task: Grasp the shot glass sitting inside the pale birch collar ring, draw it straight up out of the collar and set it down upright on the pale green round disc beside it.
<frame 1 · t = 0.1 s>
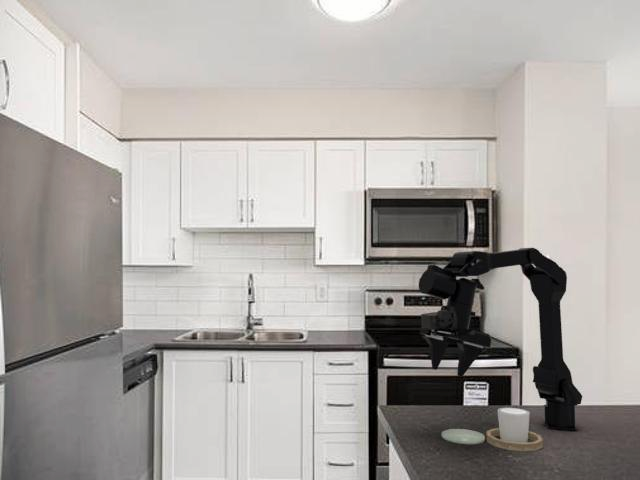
hand: (446, 372, 116), 15 cm above the countertop, tool pointing down, fingers open, 9 cm apart
shot glass: (514, 443, 116), resting in collar
pale green round disc: (463, 437, 119), on the countertop
collar: (514, 442, 116), on the countertop
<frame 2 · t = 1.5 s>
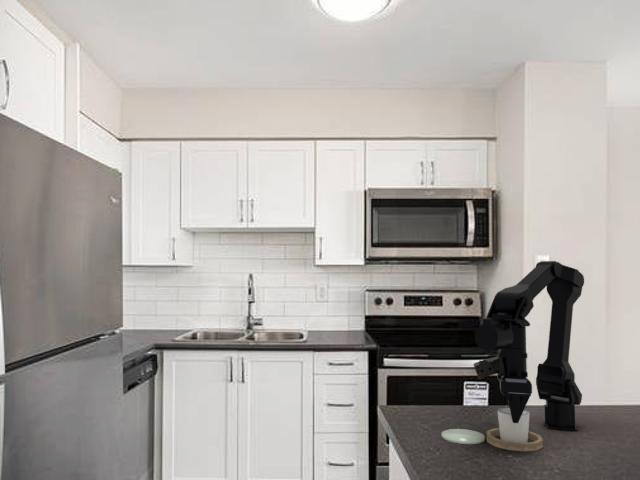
hand: (513, 417, 117), 5 cm above the countertop, tool pointing down, fingers open, 9 cm apart
nothing on the countertop moved.
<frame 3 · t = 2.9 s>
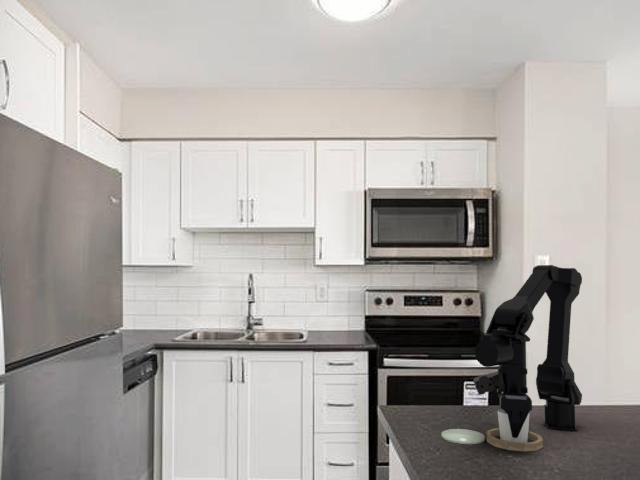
hand: (513, 433, 117), 2 cm above the countertop, tool pointing down, fingers closed on shot glass, 6 cm apart
shot glass: (513, 443, 116), resting in collar, touching gripper
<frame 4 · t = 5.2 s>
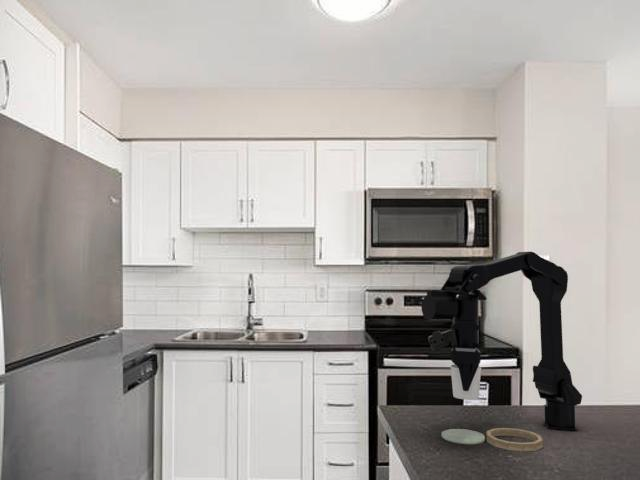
hand: (465, 388, 120), 11 cm above the countertop, tool pointing down, fingers closed on shot glass, 6 cm apart
shot glass: (465, 397, 120), point 9 cm above the countertop, touching gripper
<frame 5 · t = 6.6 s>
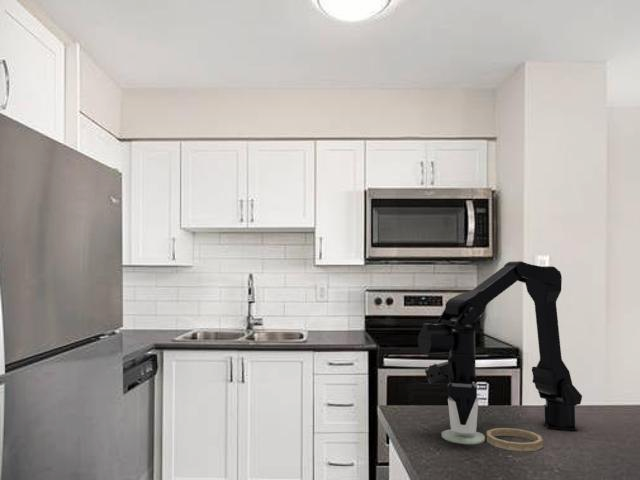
hand: (463, 420, 120), 4 cm above the countertop, tool pointing down, fingers closed on shot glass, 6 cm apart
shot glass: (463, 430, 120), point 2 cm above the countertop, touching gripper
when the fingers open (4 cm above the countertop, at t = 7.6 s): shot glass stays where it is, resting on pale green round disc.
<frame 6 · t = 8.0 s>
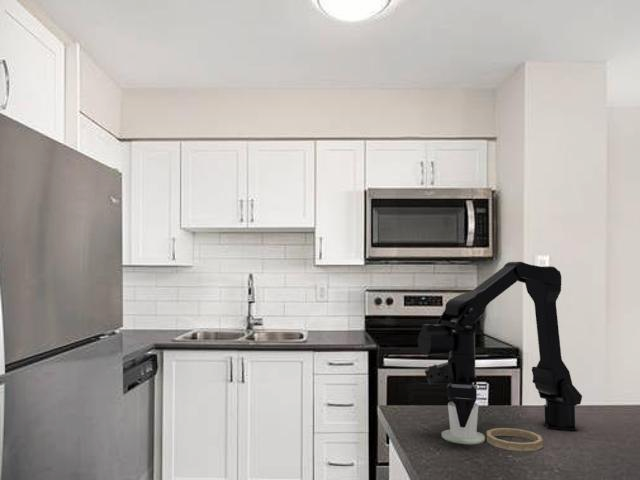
hand: (463, 421, 120), 4 cm above the countertop, tool pointing down, fingers open, 9 cm apart
shot glass: (463, 435, 120), resting on pale green round disc
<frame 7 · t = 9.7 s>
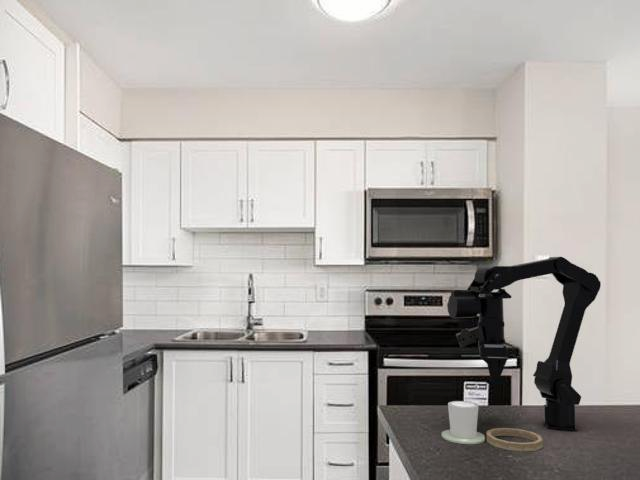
hand: (493, 381, 127), 11 cm above the countertop, tool pointing down, fingers open, 9 cm apart
nothing on the countertop moved.
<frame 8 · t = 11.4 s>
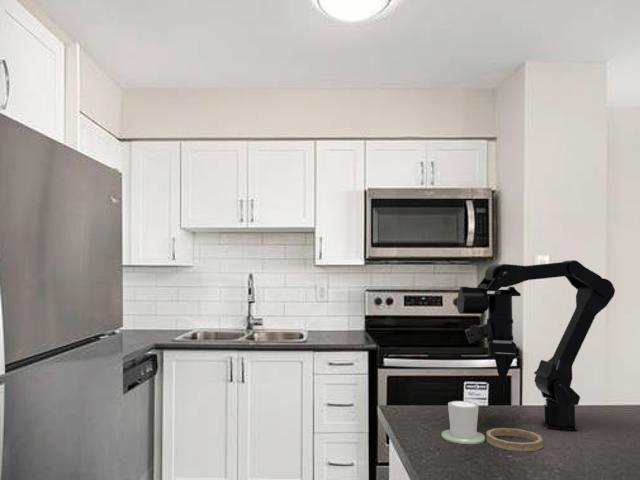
hand: (501, 377, 129), 12 cm above the countertop, tool pointing down, fingers open, 9 cm apart
nothing on the countertop moved.
at the end: shot glass 0.1 cm off-centre on the pale green round disc, point 0.4 cm above the pale green round disc's base; shot glass tilted 0°; the gripper is holding nothing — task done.
